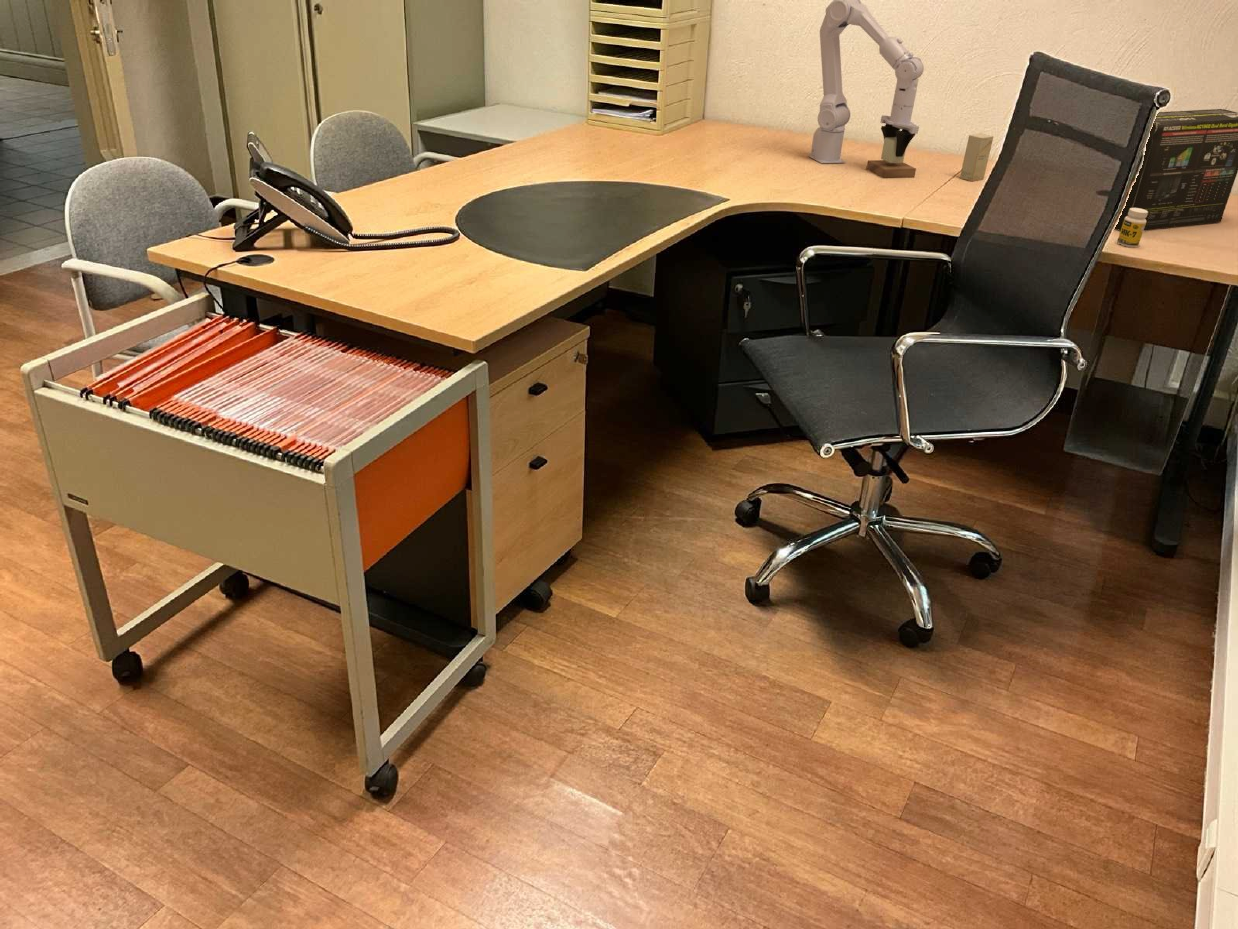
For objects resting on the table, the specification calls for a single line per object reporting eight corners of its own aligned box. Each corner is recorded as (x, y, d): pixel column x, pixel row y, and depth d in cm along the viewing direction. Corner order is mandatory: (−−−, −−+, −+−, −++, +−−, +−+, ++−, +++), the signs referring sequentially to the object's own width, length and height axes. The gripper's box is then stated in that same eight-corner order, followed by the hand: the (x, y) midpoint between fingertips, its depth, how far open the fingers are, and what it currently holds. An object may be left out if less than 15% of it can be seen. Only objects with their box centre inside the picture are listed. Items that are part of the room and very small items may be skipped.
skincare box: (971, 181, 281) (982, 138, 275) (958, 178, 284) (968, 134, 278) (984, 179, 284) (994, 135, 278) (971, 175, 287) (980, 132, 281)
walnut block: (865, 170, 288) (867, 160, 286) (896, 170, 290) (898, 159, 289) (883, 179, 279) (885, 169, 278) (914, 179, 282) (916, 168, 281)
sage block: (880, 158, 284) (884, 137, 281) (893, 158, 285) (897, 136, 282) (890, 162, 280) (894, 140, 277) (903, 161, 282) (907, 140, 279)
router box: (1186, 210, 266) (1222, 107, 252) (1222, 223, 257) (1261, 116, 243) (1088, 220, 253) (1120, 111, 239) (1122, 233, 244) (1158, 121, 230)
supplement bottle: (1113, 243, 236) (1124, 209, 232) (1121, 240, 239) (1132, 205, 235) (1133, 249, 233) (1145, 214, 229) (1141, 245, 236) (1152, 210, 232)
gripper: (875, 99, 279) (867, 148, 286) (907, 110, 268) (898, 161, 275) (895, 99, 282) (886, 147, 289) (928, 109, 270) (918, 159, 277)
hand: (893, 154), depth 282 cm, fingers closed on sage block, 4 cm apart
